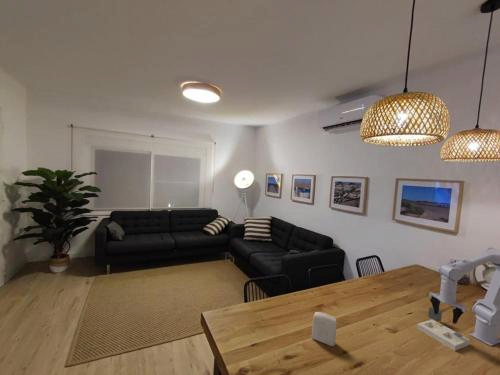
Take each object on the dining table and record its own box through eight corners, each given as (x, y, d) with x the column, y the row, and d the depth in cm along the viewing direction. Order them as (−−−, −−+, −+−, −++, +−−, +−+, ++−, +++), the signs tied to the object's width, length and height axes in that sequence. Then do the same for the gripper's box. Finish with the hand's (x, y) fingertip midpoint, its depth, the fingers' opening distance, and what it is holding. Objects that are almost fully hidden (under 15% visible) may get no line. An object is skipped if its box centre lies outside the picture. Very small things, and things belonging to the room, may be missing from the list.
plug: (432, 318, 129) (433, 306, 128) (440, 322, 125) (442, 310, 125) (427, 319, 127) (429, 307, 127) (436, 324, 123) (437, 311, 123)
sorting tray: (431, 323, 124) (432, 318, 123) (469, 344, 109) (470, 338, 109) (417, 328, 119) (417, 322, 119) (454, 351, 104) (455, 344, 104)
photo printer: (335, 342, 105) (338, 315, 104) (334, 348, 101) (336, 320, 101) (312, 333, 110) (314, 308, 109) (310, 338, 106) (312, 312, 106)
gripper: (426, 284, 117) (423, 311, 117) (462, 299, 103) (458, 329, 104) (434, 283, 119) (432, 308, 120) (470, 297, 106) (467, 326, 107)
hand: (445, 318), depth 112 cm, fingers open, 7 cm apart
